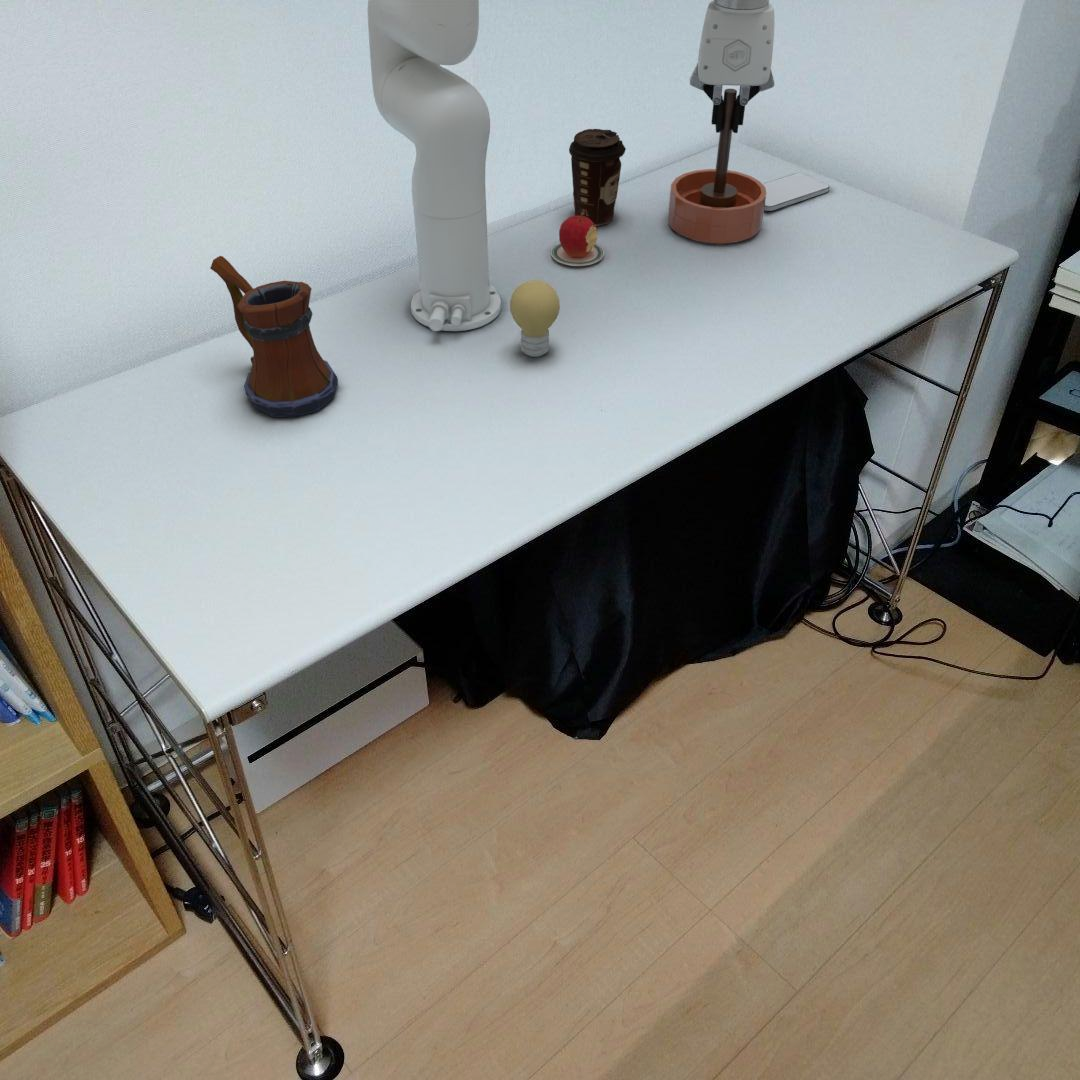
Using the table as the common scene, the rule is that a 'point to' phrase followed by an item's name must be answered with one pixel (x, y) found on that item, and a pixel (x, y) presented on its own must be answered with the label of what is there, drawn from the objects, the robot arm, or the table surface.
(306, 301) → the mug
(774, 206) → the smartphone
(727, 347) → the table surface
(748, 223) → the bowl
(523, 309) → the light bulb
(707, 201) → the dowel on round base
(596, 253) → the red apple in dish
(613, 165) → the coffee cup
